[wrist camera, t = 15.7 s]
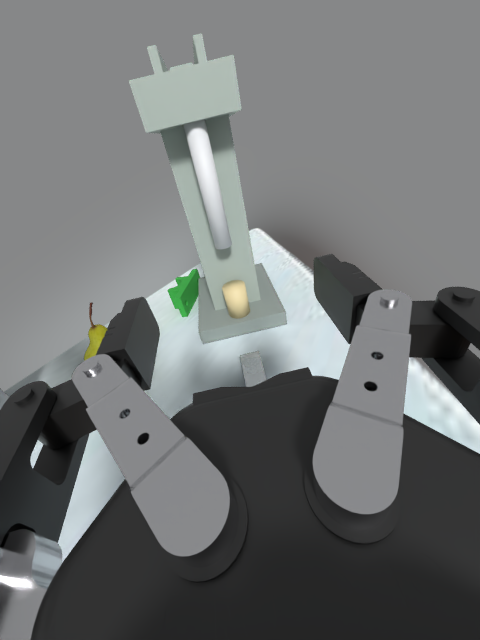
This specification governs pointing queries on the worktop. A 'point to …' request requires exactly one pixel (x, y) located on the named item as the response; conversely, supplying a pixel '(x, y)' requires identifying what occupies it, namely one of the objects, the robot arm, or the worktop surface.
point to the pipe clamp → (185, 292)
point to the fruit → (94, 337)
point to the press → (210, 188)
